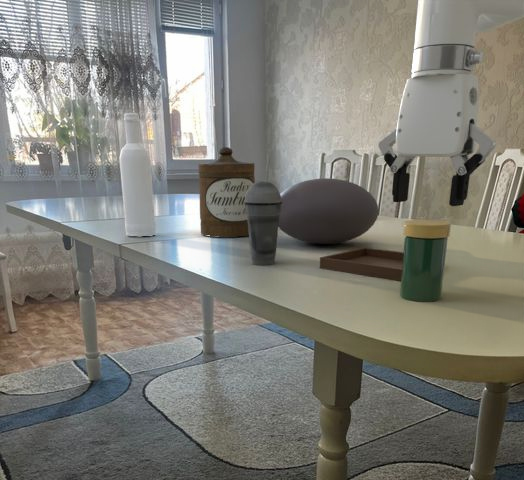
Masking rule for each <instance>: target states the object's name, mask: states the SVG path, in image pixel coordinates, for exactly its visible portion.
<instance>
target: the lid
mask: <svg viewBox="0 0 524 480" xmlns="http://www.w3.org/2000/svg"><path fill="white" fill-rule="evenodd" d="M451 226H452V223H451V222H450V221H446V220H436V219H411V220H406V221H404V223H403V233H402V234H403V236H404V237H405V236H409V237H416V238H445V237H448V238H449V237H450V236H451V228H452V227H451Z"/></svg>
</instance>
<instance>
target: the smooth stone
mask: <svg viewBox="0 0 524 480" xmlns="http://www.w3.org/2000/svg"><path fill="white" fill-rule="evenodd" d="M280 196H281V202H282V204H281V210H280V214H279V222H278V229H280V230H281V232H283V233H284V234H286V235H287V236H288V237H291V238H293V239H295V240H297V241H301V242H304V243H308V244H314V245H315V244H316V245H333V244H340V243H345V242H348V241H352V240H355V239H356V238H359V237H361V236H362V235H364V234H365V233H367V232H368V231H369V230H370V229H371V228H372V227H373V226H374V225H375V223H376V222H377V220H378V217H379V204H378V202H377V200H376V198H375V197H374V196H373V194H372V193H371V192H370V191H368V190H367V189H366V188H364V187H362V186H361V185H359V184H357V183H354V182H351V181H349V180H345V179H338V178H313V179H308V180H304V181H301V182H298V183H295V184H293V185H291V186H289V187H287V188H286V189H284V191H282V192H280Z"/></svg>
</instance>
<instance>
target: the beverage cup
mask: <svg viewBox="0 0 524 480" xmlns="http://www.w3.org/2000/svg"><path fill="white" fill-rule="evenodd" d="M270 159H271V156H269V155H267V158H266V166H265V174H264V175H265V176H264V177H265V179H264V181H255V183H254V184H252V185H251V186H250V187H249V189H248V190H247V192H246V195H245V202H244V204H245V210H246V214H247V221H248V231H249V236H248V240H249V241H248V242H249V250H250V251H249V252H250V257H251V264H252V265H256V266H271V265H274V264H276V263H275V260H276V256H277V255H276V254H277V244H278V243H277V242H278V231H279V227H278V222H279V214H280V210H281V204H282V202H281V196H280V194H281V192H280V191H279V189H278V188H277V186H275V184H273V183H272V182H271V181H268V179H269V169H270V161H271V160H270Z"/></svg>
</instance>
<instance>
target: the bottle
mask: <svg viewBox="0 0 524 480" xmlns="http://www.w3.org/2000/svg"><path fill="white" fill-rule="evenodd" d="M140 119H141V118H140V114H139V113H135V112H126V113H124V114H123V122H124V130H125V142H126V144H125V145H124V146H123V147H122V148H121V149H120V154H119V168H120V169H119V171H120V180H121V181H120V182H121V191H122V202H123V203H122V204H123V212H124V213H123V214H124V215H123V216H124V230H125V235H129V236H149V235H154V234H156V235H157V232H156V230H157V227H156V226H157V225H156V218H155V204H154V203H155V201H154V190H153V189H154V188H153V177H152V176H153V174H152V161H151V156H150V153H149V151H148V149H147V148H146V147H145V146H144V145H143V144H142V139H141V126H140V122H141V120H140Z"/></svg>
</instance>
